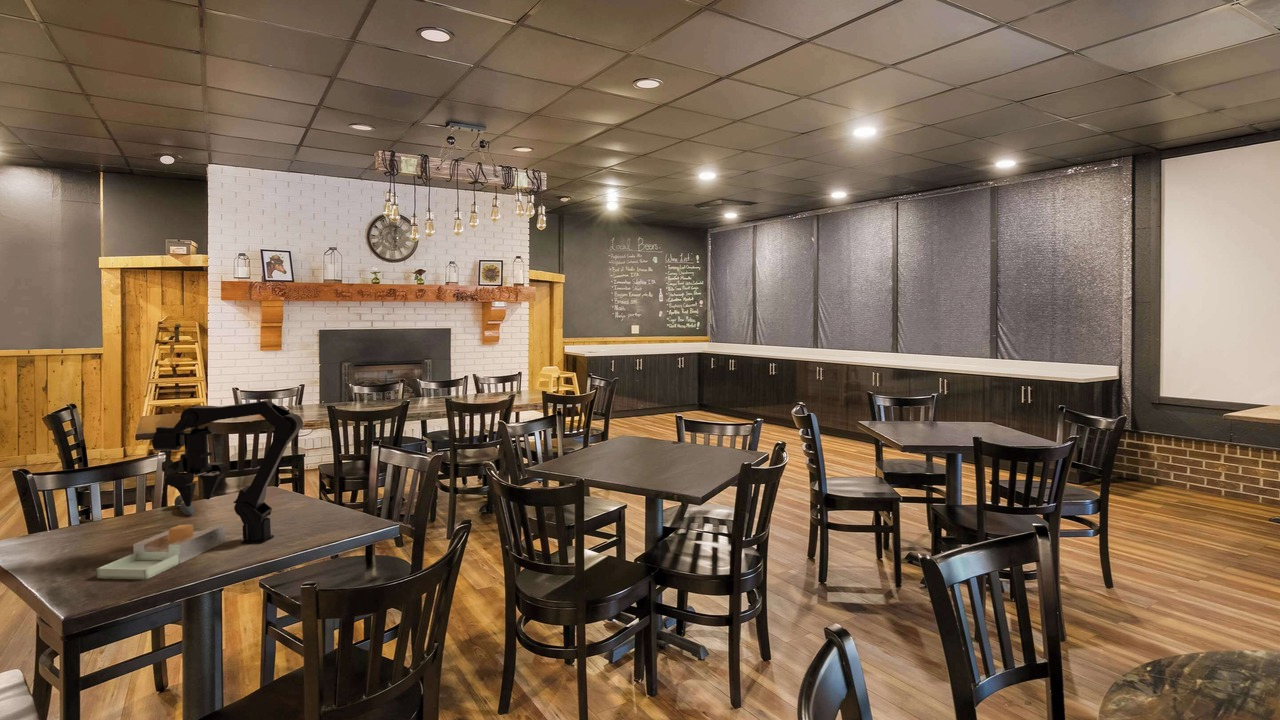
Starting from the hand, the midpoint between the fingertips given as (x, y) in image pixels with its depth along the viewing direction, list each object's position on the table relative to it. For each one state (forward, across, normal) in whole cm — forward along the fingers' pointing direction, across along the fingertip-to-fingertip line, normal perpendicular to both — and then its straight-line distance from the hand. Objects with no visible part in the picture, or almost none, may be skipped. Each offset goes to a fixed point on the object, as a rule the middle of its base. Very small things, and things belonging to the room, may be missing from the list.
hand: (198, 502), depth 197 cm
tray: (+12, +22, 0) cm, 25 cm away
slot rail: (+12, +7, 0) cm, 14 cm away
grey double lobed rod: (+13, -34, -30) cm, 47 cm away
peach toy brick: (+9, +7, 0) cm, 11 cm away
